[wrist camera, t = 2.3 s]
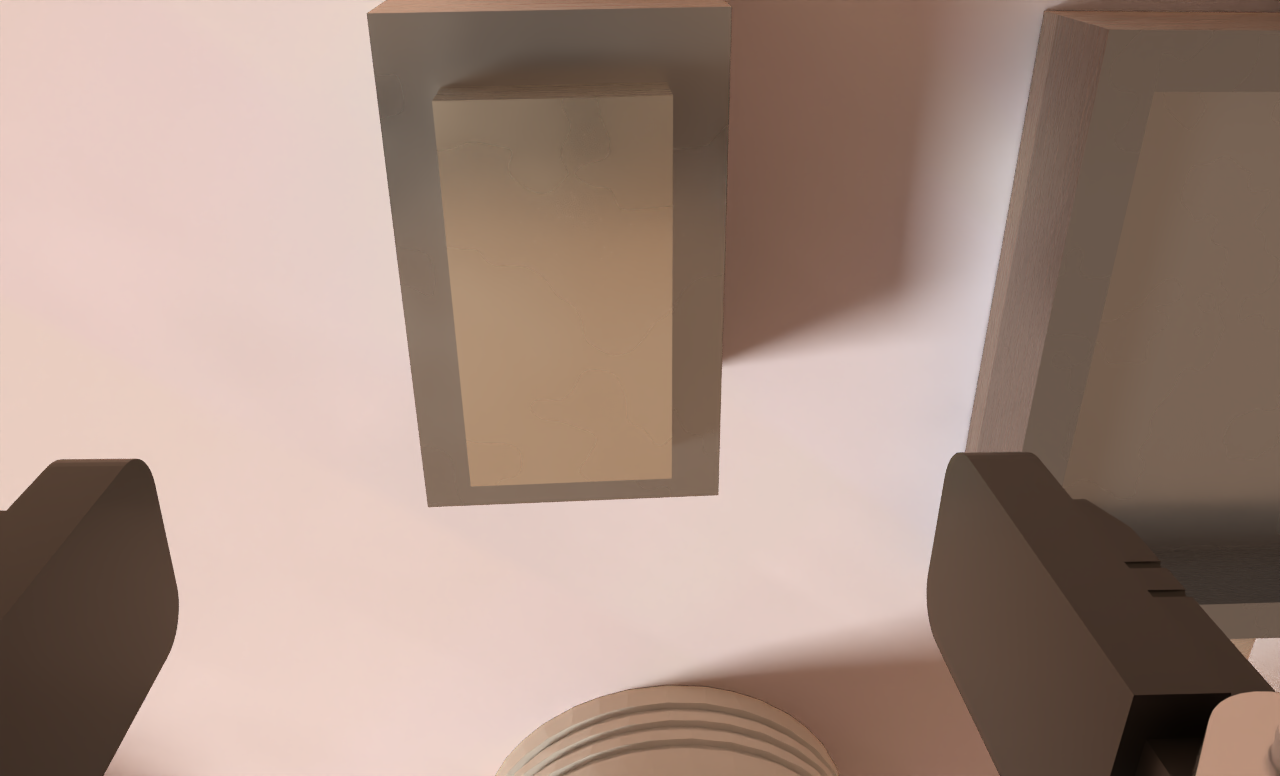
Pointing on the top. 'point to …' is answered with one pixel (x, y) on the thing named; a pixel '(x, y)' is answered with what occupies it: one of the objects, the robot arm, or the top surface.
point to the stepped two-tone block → (559, 241)
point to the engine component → (671, 738)
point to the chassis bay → (1151, 293)
